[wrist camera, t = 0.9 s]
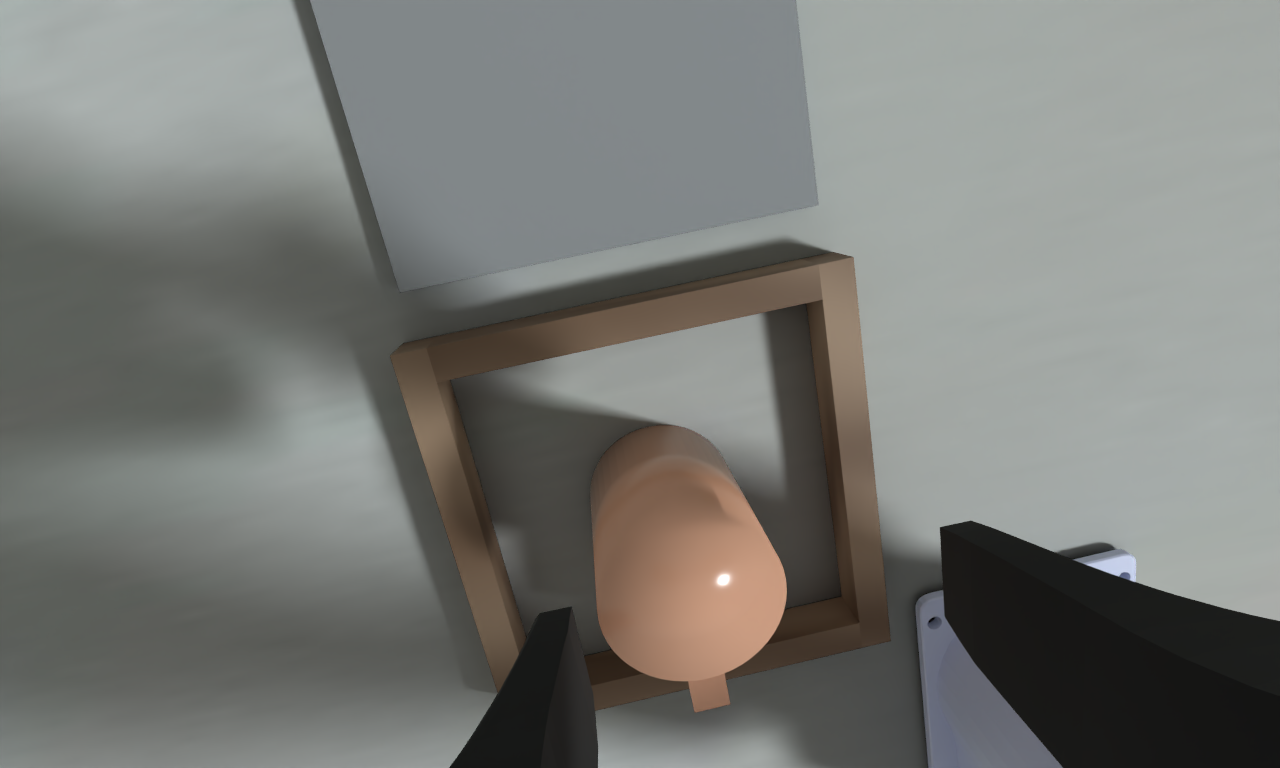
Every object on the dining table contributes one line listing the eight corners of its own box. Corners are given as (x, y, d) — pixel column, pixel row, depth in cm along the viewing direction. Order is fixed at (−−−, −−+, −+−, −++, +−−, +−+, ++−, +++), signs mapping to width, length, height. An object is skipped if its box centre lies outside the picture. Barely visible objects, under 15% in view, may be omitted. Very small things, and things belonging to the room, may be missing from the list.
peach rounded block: (575, 442, 21) (578, 538, 15) (718, 411, 21) (773, 495, 15) (617, 614, 23) (633, 758, 17) (747, 584, 23) (806, 716, 17)
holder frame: (871, 613, 24) (891, 641, 22) (513, 697, 23) (510, 730, 22) (833, 252, 20) (853, 257, 18) (402, 343, 19) (389, 356, 18)
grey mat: (811, 204, 19) (818, 205, 19) (404, 289, 19) (399, 292, 18) (753, -307, 16) (760, -325, 15) (251, -217, 15) (238, -233, 15)
